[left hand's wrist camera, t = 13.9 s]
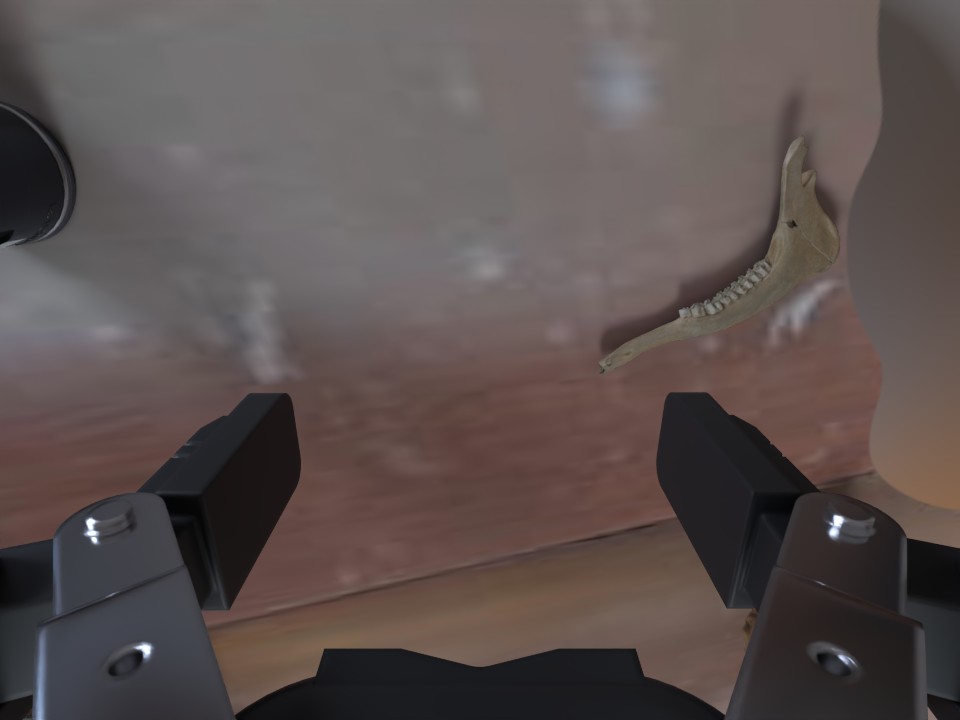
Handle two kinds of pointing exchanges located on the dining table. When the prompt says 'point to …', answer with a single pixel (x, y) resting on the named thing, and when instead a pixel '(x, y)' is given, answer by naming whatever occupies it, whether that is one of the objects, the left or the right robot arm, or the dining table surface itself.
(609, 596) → the dining table surface
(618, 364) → the jawbone
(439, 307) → the dining table surface
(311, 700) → the left robot arm
